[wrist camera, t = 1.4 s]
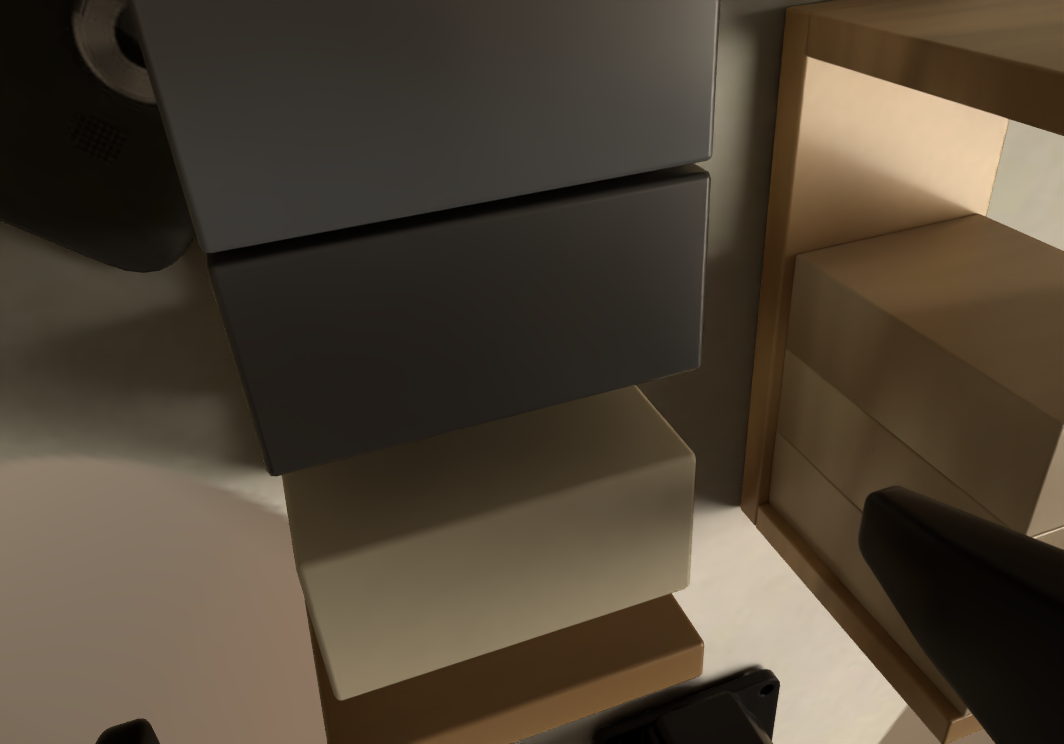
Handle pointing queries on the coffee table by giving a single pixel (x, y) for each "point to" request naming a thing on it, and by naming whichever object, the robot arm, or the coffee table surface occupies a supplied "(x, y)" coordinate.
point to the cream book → (489, 535)
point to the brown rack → (905, 301)
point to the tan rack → (450, 262)
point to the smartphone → (86, 136)
